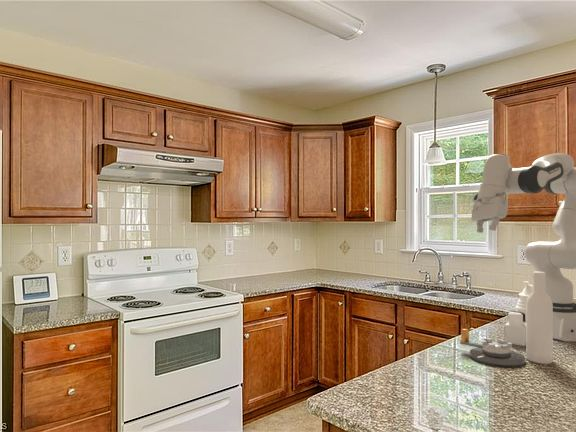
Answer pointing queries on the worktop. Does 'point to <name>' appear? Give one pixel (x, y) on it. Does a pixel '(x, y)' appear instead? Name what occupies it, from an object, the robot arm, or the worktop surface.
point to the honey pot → (524, 298)
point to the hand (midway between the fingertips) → (485, 231)
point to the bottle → (539, 323)
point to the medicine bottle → (515, 328)
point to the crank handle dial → (488, 345)
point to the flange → (497, 359)
